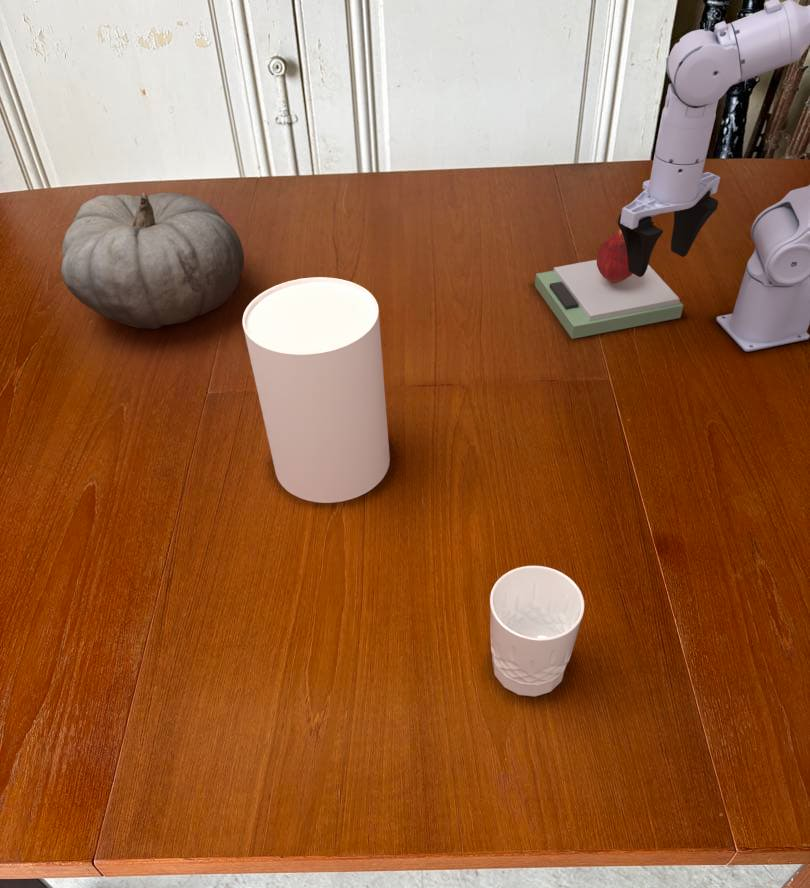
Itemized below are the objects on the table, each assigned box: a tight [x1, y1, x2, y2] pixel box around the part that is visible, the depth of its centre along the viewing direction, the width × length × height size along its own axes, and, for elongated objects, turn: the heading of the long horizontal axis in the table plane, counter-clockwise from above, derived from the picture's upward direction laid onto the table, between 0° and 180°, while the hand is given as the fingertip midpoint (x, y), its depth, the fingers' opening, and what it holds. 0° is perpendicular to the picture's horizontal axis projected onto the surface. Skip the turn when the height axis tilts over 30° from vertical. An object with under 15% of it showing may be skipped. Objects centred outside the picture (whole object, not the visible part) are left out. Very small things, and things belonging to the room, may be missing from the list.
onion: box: [596, 229, 633, 283], centre depth 111 cm, size 6×6×8 cm
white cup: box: [489, 565, 585, 697], centre depth 72 cm, size 8×8×10 cm
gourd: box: [60, 192, 245, 330], centre depth 114 cm, size 25×25×17 cm
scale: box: [534, 259, 684, 340], centre depth 115 cm, size 16×14×3 cm
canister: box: [241, 276, 391, 504], centre depth 88 cm, size 14×14×20 cm
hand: (657, 263), depth 103 cm, fingers open, 7 cm apart
